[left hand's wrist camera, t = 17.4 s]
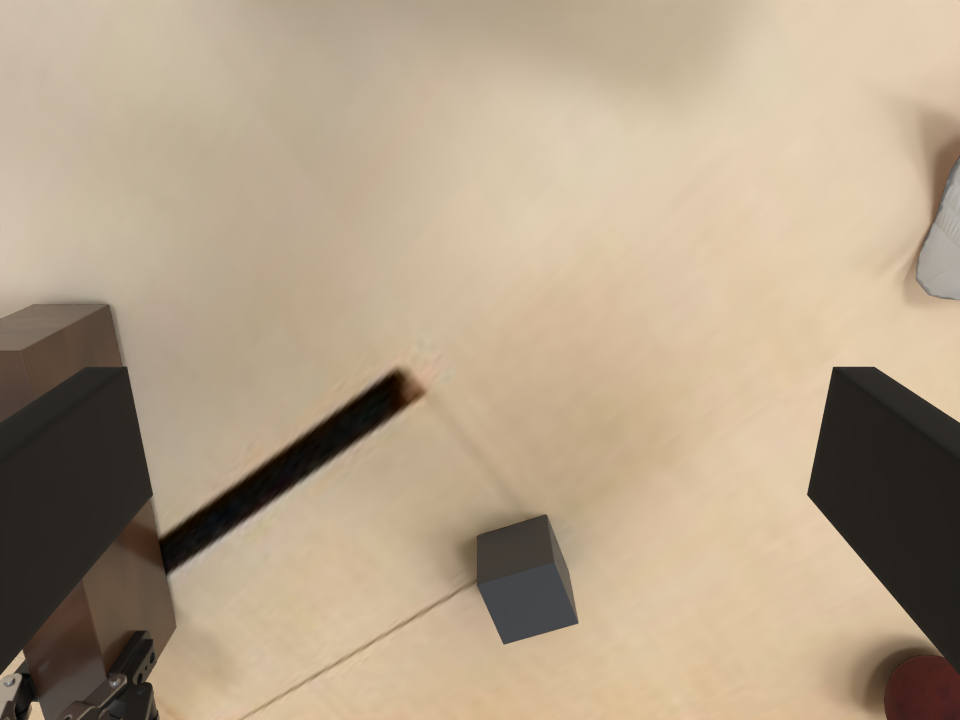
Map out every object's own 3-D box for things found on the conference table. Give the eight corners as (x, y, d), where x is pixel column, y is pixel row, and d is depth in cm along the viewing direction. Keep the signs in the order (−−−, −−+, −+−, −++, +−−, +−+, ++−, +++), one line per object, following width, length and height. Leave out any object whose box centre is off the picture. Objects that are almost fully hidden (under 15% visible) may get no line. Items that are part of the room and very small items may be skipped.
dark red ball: (886, 725, 51) (945, 816, 45) (846, 660, 49) (903, 746, 42) (979, 685, 50) (1055, 773, 43) (943, 616, 47) (1018, 698, 41)
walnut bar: (33, 304, 39) (-74, 350, 31) (109, 303, 39) (20, 350, 31) (114, 627, 47) (45, 724, 40) (177, 627, 47) (119, 724, 40)
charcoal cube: (477, 535, 45) (476, 585, 41) (546, 514, 45) (554, 561, 40) (501, 591, 47) (503, 645, 42) (568, 571, 46) (578, 623, 42)
